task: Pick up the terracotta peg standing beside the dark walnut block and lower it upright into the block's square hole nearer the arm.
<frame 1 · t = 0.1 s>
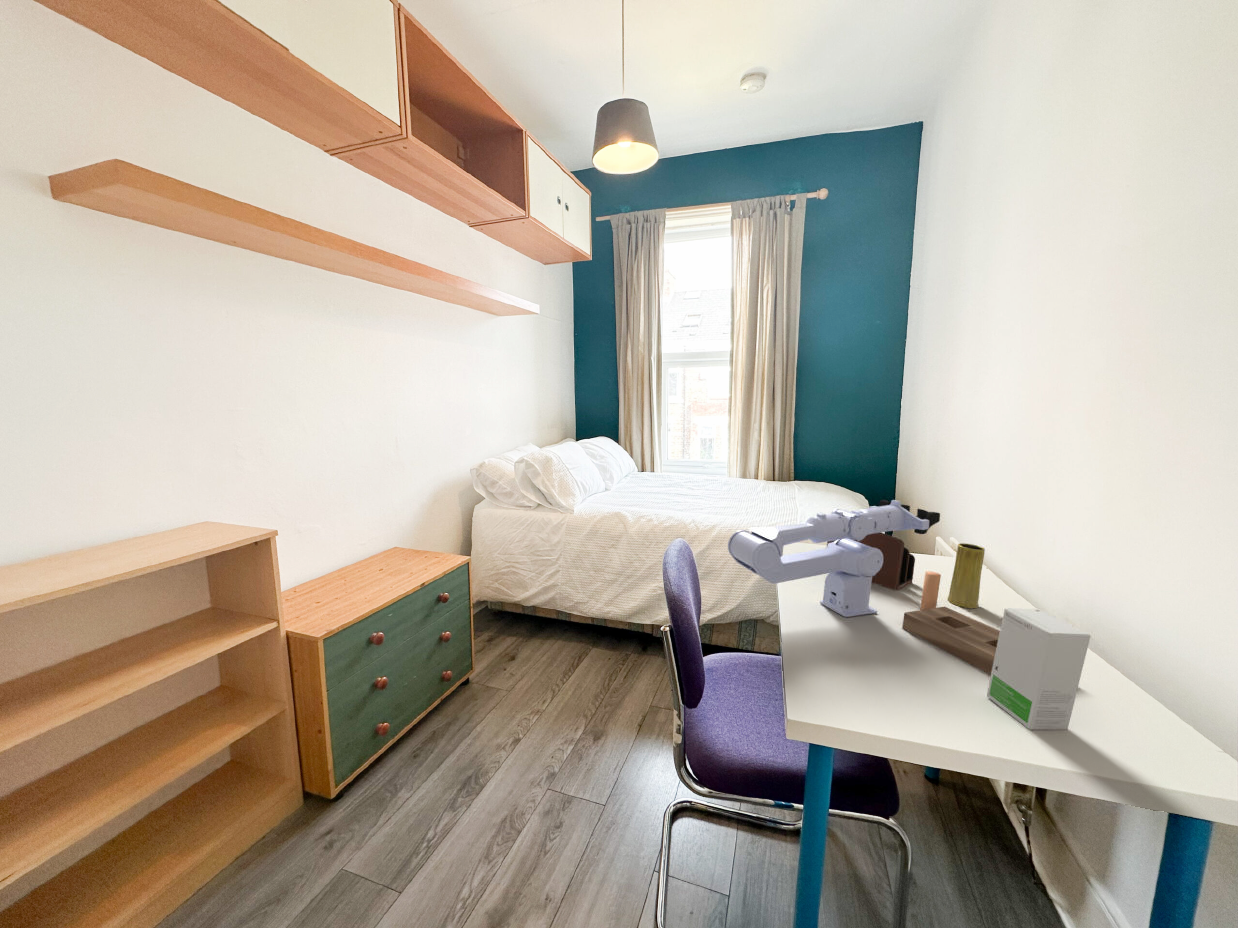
hand: (923, 513, 115), 22 cm above the table, tool horizontal, fingers open, 7 cm apart
letter holder: (866, 576, 134), on the table
skincare box: (1026, 714, 75), on the table
hole block: (974, 650, 94), on the table
vase: (962, 603, 117), on the table
peg: (927, 610, 112), on the table
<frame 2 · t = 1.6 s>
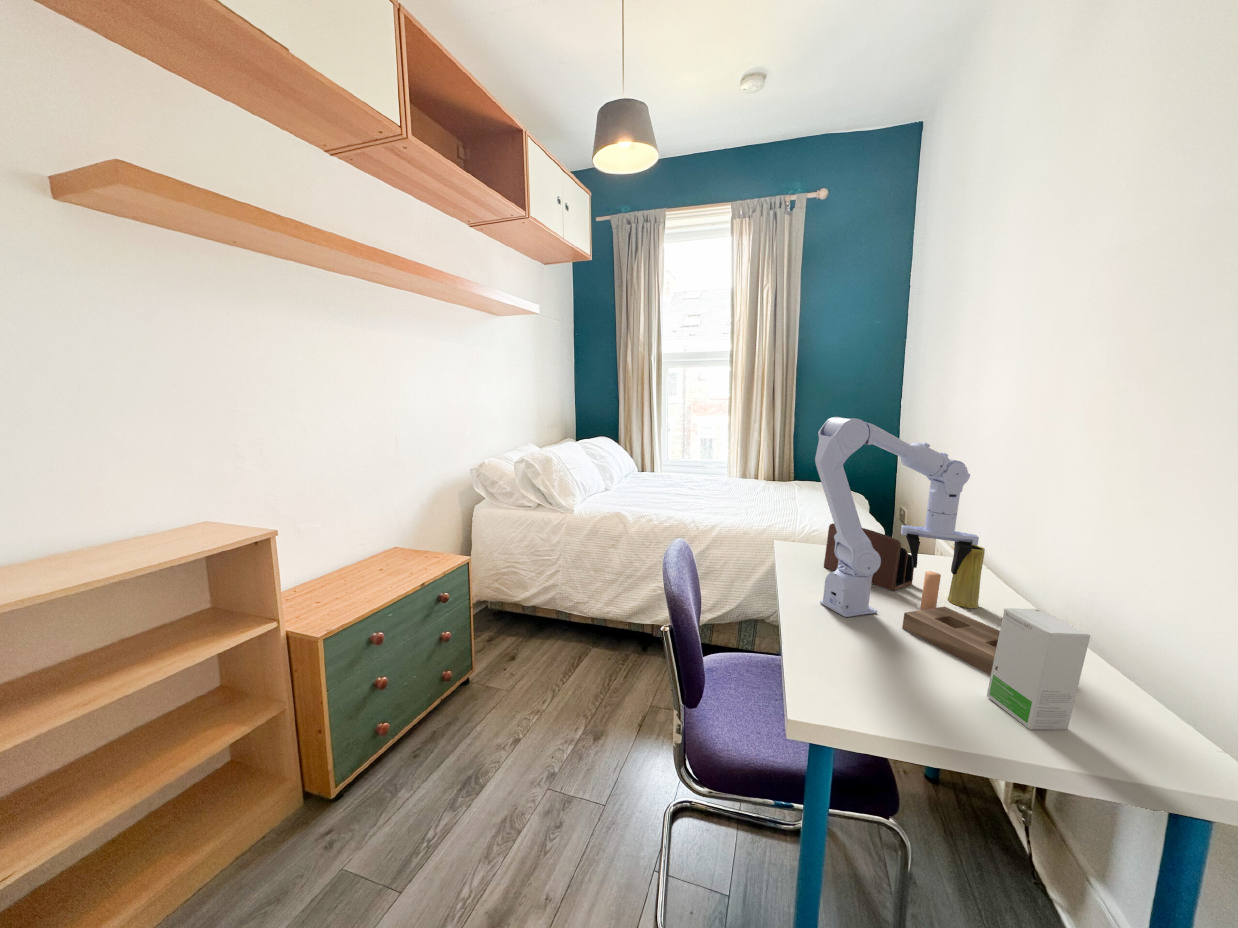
hand: (933, 569, 110), 10 cm above the table, tool pointing down, fingers open, 7 cm apart
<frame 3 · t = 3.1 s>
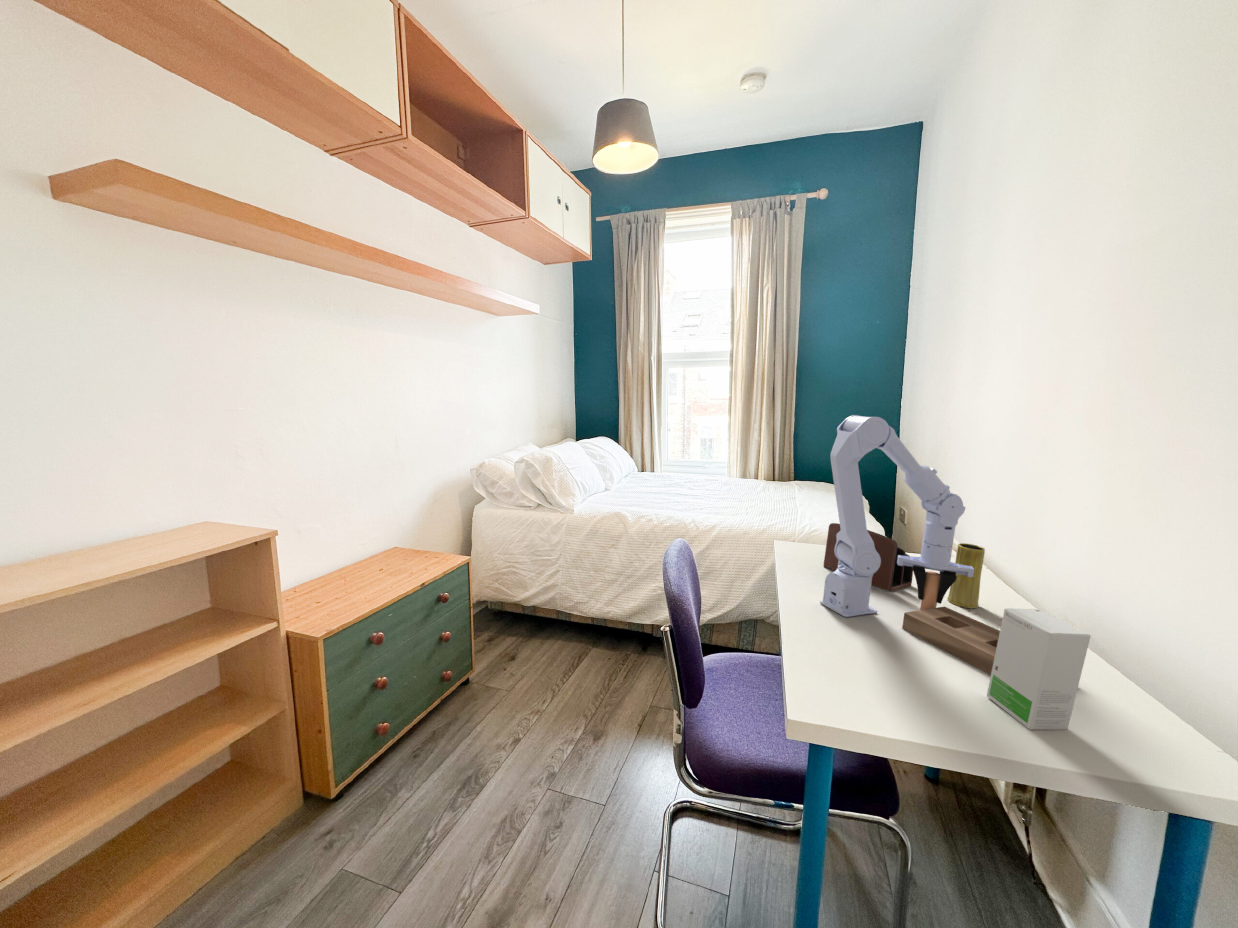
hand: (929, 600, 111), 3 cm above the table, tool pointing down, fingers closed on peg, 3 cm apart
peg: (927, 610, 112), on the table, touching gripper
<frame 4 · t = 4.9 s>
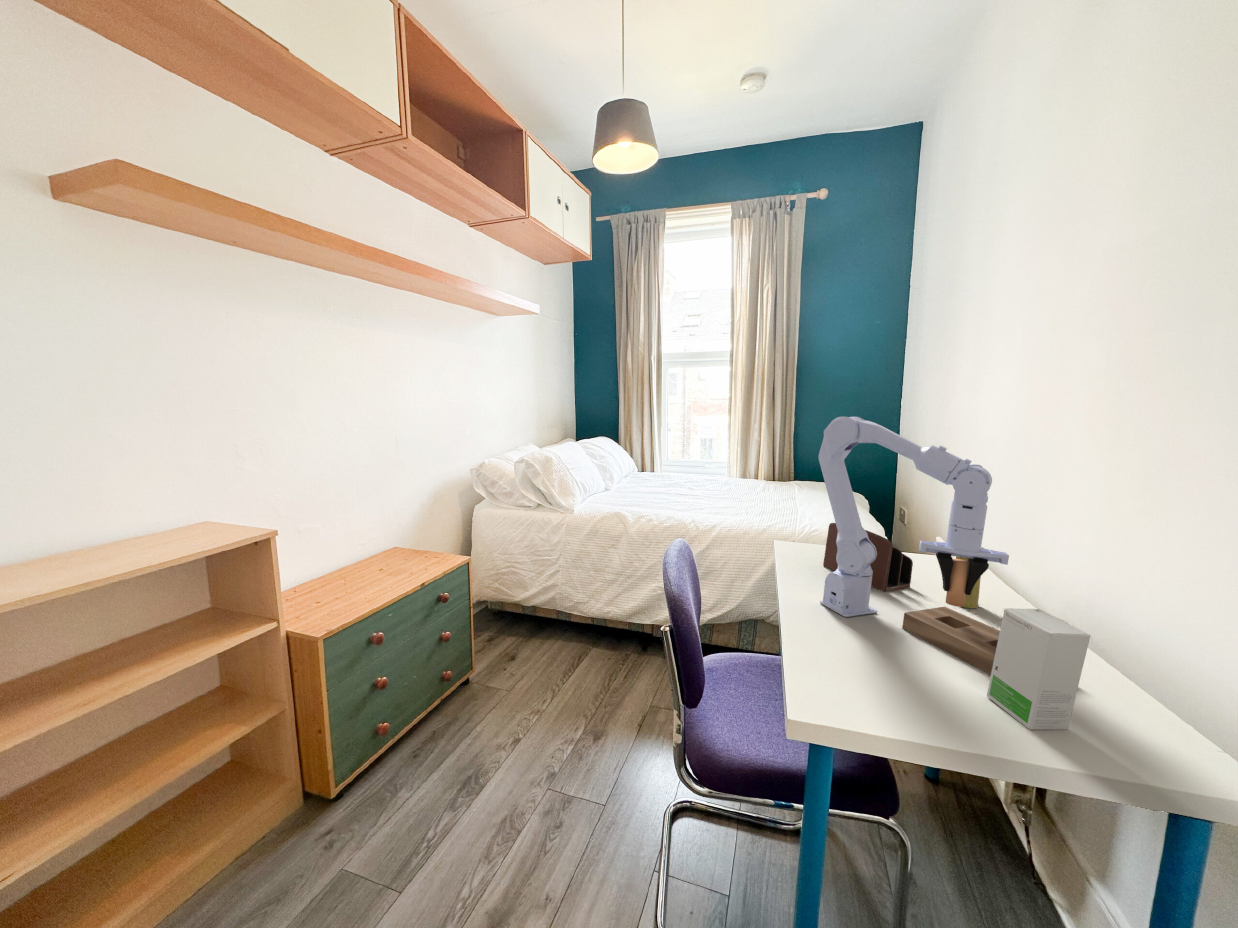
hand: (956, 591, 98), 10 cm above the table, tool pointing down, fingers closed on peg, 3 cm apart
peg: (954, 603, 98), point 7 cm above the table, touching gripper
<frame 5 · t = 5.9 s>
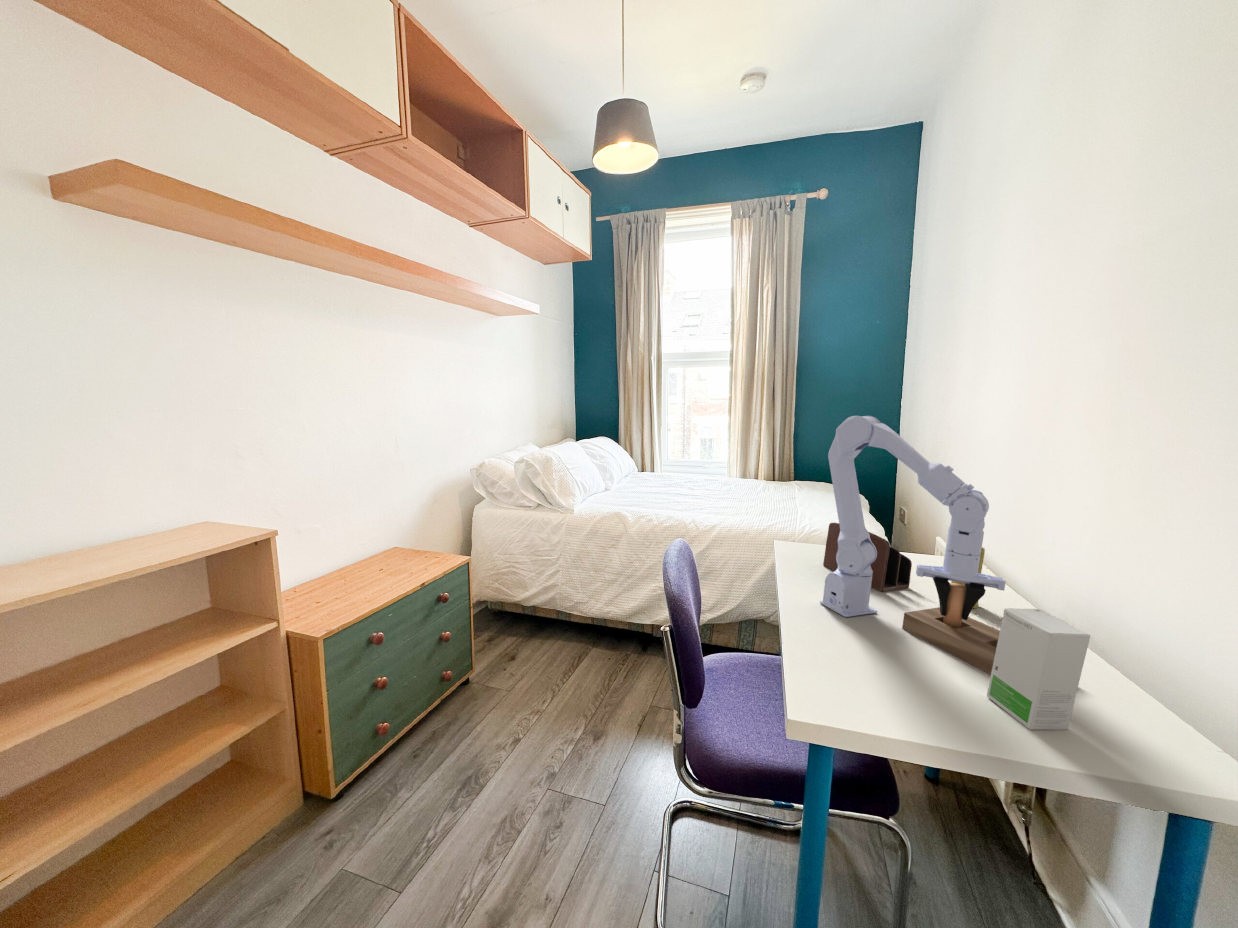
hand: (953, 615, 98), 5 cm above the table, tool pointing down, fingers closed on peg, 3 cm apart
peg: (951, 627, 98), point 2 cm above the table, touching gripper
when the fingers open (5 cm above the table, at t = 6.7 s): peg drops 2 cm, resting in hole block.
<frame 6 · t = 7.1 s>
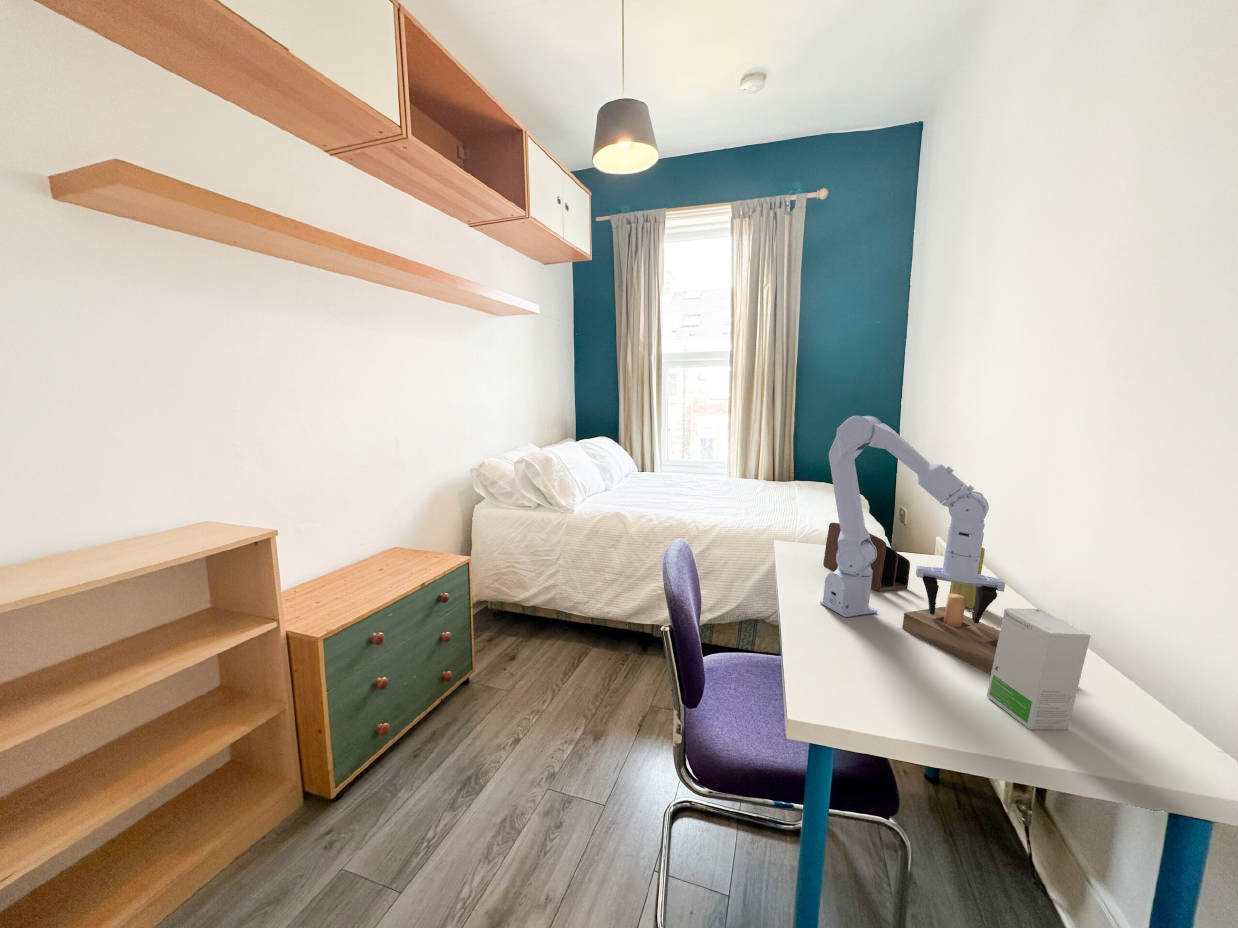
hand: (953, 616, 98), 5 cm above the table, tool pointing down, fingers open, 7 cm apart
peg: (949, 637, 99), resting in hole block
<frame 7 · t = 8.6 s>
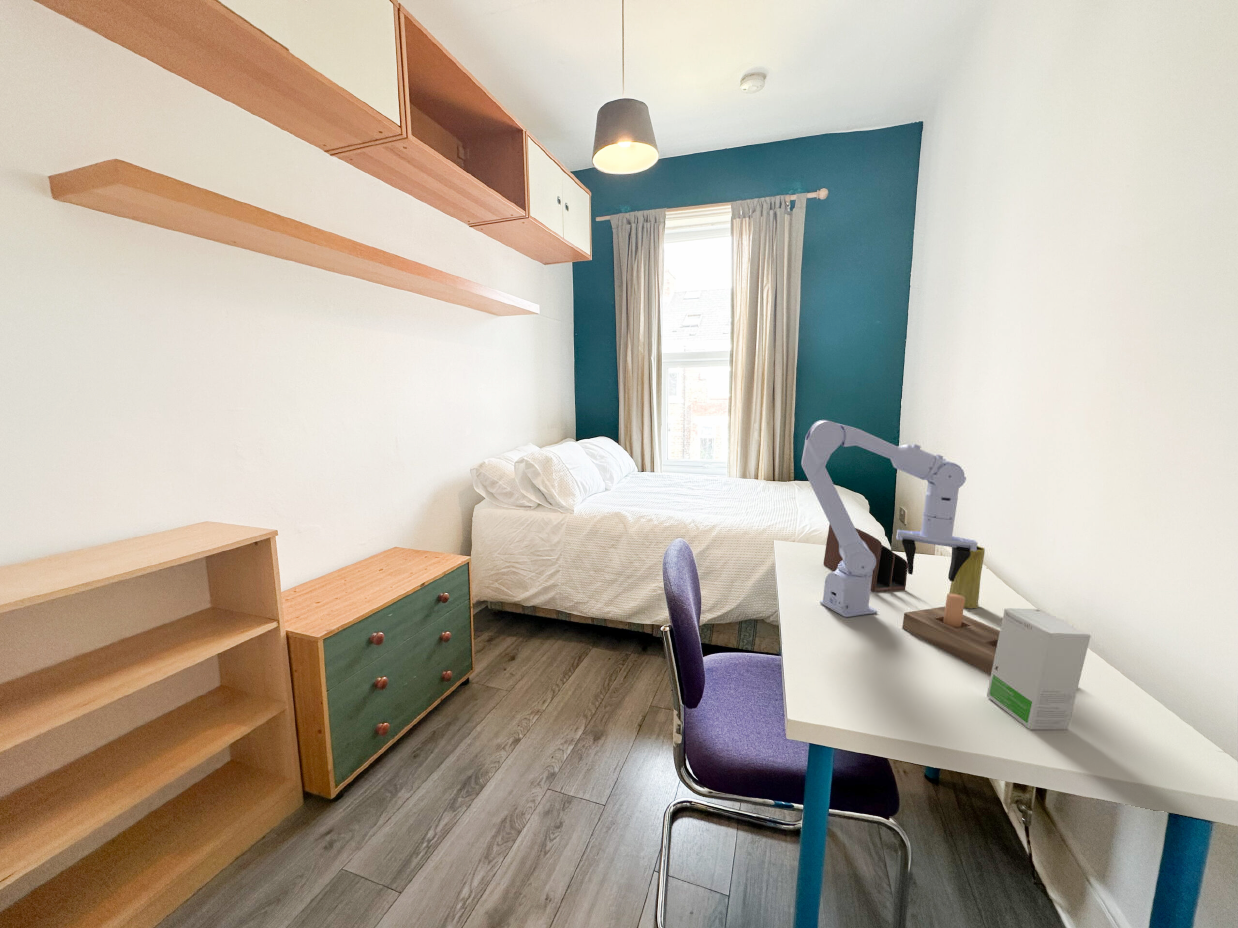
hand: (930, 576, 106), 10 cm above the table, tool pointing down, fingers open, 7 cm apart
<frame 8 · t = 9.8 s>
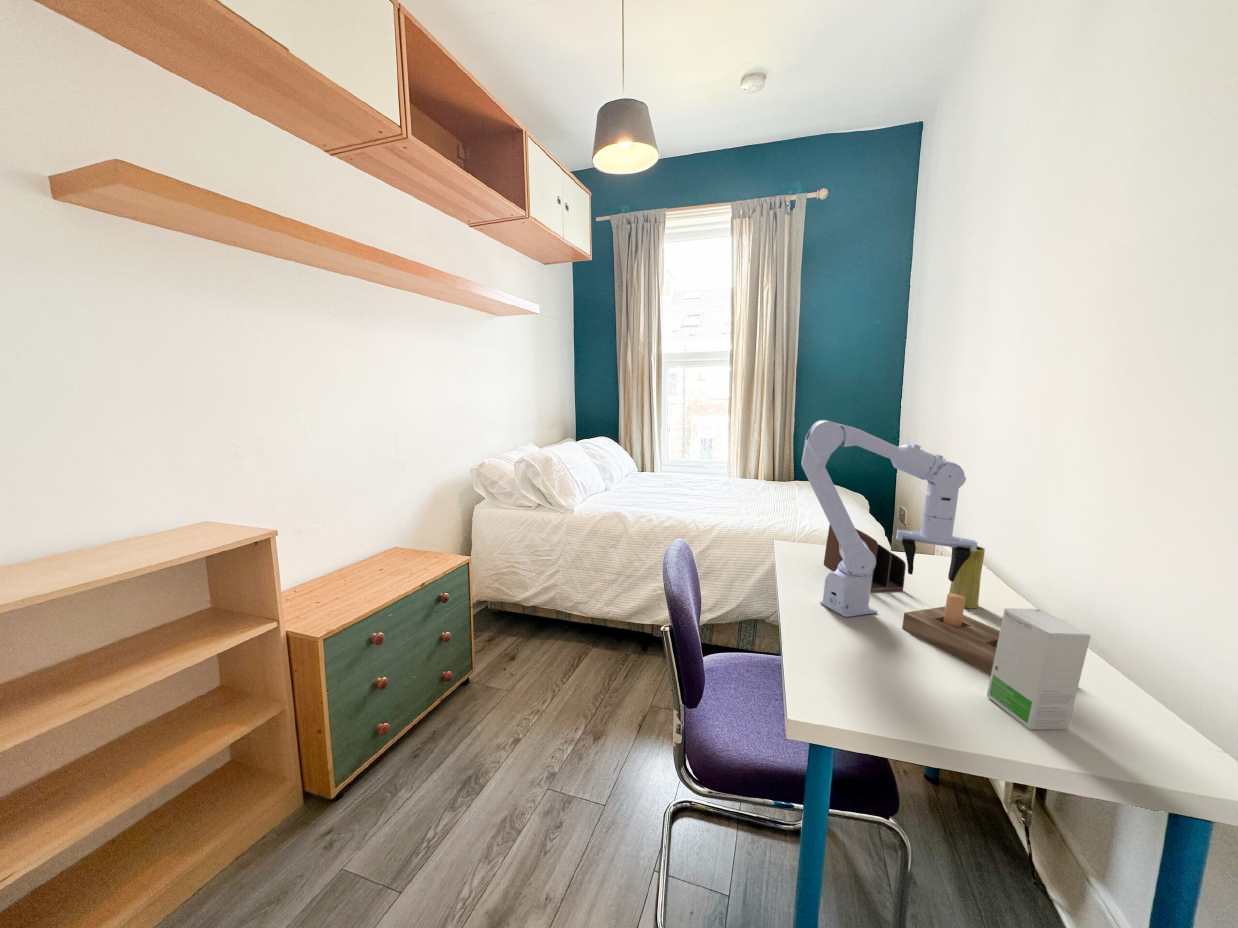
hand: (930, 576, 106), 10 cm above the table, tool pointing down, fingers open, 7 cm apart
at the end: peg 0.1 cm from the target spot on the hole block, point 0.0 cm above the hole block's base; peg tilted 0°; the gripper is holding nothing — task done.
